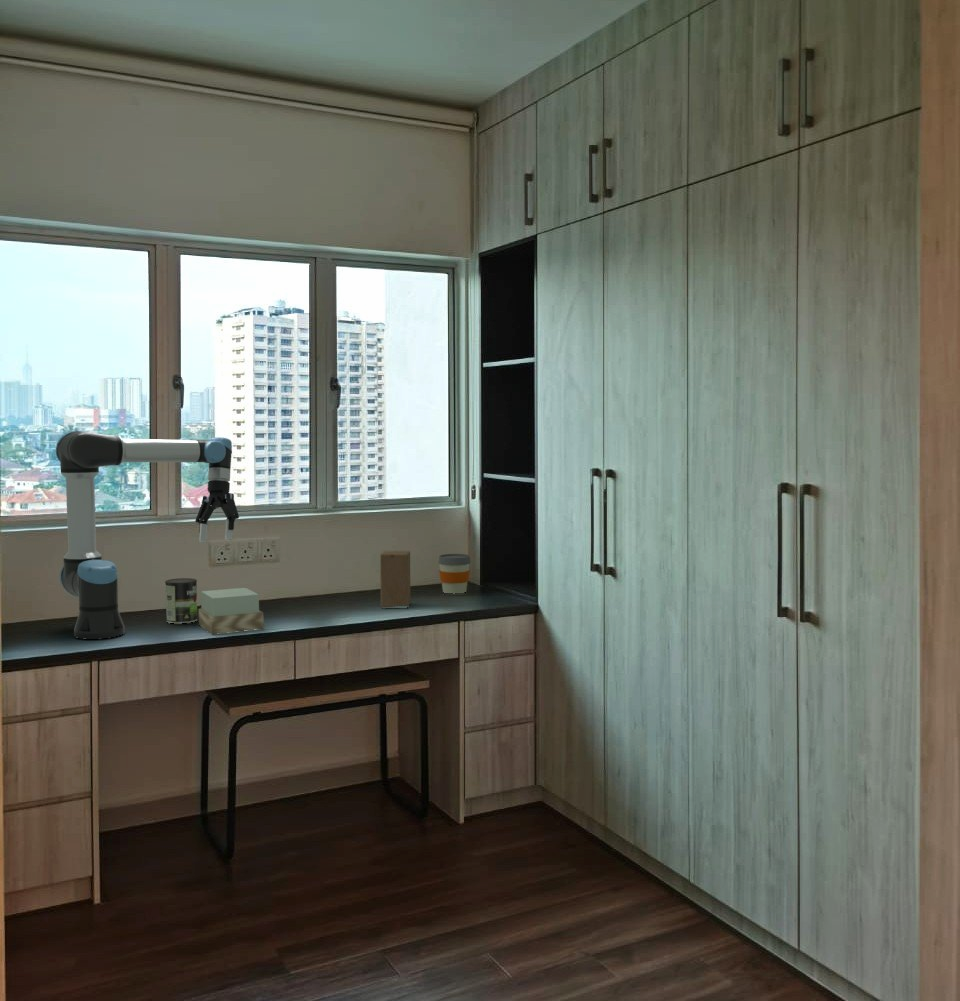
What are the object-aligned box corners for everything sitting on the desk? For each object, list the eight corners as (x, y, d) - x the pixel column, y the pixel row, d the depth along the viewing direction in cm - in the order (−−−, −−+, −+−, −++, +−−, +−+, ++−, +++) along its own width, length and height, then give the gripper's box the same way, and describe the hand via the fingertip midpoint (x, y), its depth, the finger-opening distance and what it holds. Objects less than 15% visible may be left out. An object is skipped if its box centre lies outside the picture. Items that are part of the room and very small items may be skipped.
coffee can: (203, 618, 349) (202, 578, 348) (188, 624, 339) (187, 583, 338) (175, 617, 351) (174, 577, 350) (160, 623, 341) (159, 582, 340)
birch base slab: (211, 636, 323) (211, 617, 323) (198, 626, 338) (198, 608, 338) (263, 630, 332) (263, 612, 331) (249, 621, 346) (248, 604, 346)
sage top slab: (213, 616, 324) (212, 598, 323) (201, 609, 337) (201, 591, 337) (259, 612, 331) (258, 594, 331) (245, 605, 344) (245, 587, 344)
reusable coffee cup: (438, 591, 404) (438, 553, 403) (469, 590, 405) (469, 553, 403) (439, 596, 391) (438, 558, 390) (471, 596, 392) (471, 558, 391)
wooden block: (408, 608, 367) (407, 554, 365) (380, 608, 367) (380, 554, 365) (410, 603, 377) (410, 550, 375) (383, 603, 377) (383, 550, 375)
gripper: (251, 479, 354) (248, 539, 350) (204, 486, 368) (201, 544, 364) (234, 475, 348) (231, 537, 344) (187, 483, 362) (183, 542, 358)
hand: (215, 541), depth 354 cm, fingers open, 13 cm apart
